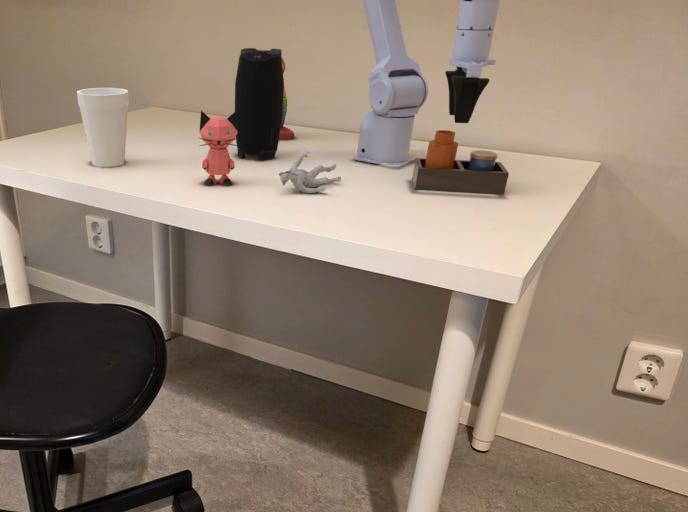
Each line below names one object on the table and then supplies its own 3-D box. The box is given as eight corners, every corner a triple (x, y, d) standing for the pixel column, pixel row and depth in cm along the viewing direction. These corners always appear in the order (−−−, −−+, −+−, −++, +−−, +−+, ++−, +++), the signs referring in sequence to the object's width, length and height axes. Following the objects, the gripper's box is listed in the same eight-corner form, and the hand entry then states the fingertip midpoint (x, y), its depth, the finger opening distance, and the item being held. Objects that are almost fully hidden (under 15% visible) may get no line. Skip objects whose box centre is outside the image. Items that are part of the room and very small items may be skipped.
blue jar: (459, 187, 108) (466, 153, 105) (469, 182, 111) (476, 149, 108) (484, 192, 106) (492, 157, 103) (493, 186, 108) (501, 153, 105)
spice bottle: (417, 183, 109) (426, 132, 105) (429, 178, 112) (438, 128, 108) (443, 188, 106) (453, 136, 102) (454, 183, 109) (464, 131, 105)
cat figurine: (197, 187, 110) (197, 114, 103) (198, 177, 115) (197, 106, 109) (239, 187, 110) (240, 114, 103) (237, 177, 115) (239, 107, 109)
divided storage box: (411, 181, 113) (415, 157, 111) (495, 186, 111) (500, 162, 109) (414, 193, 107) (418, 168, 105) (503, 198, 105) (509, 173, 103)
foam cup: (141, 160, 126) (137, 89, 119) (116, 171, 119) (110, 96, 112) (100, 155, 130) (94, 86, 123) (74, 165, 122) (66, 93, 116)
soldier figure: (348, 193, 110) (308, 184, 102) (326, 208, 113) (286, 200, 105) (332, 155, 112) (292, 142, 103) (311, 170, 115) (270, 159, 106)
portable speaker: (228, 152, 132) (230, 48, 122) (271, 150, 134) (277, 47, 124) (240, 162, 125) (243, 51, 115) (286, 159, 127) (292, 50, 117)
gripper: (510, 32, 95) (490, 127, 102) (493, 27, 108) (476, 112, 114) (460, 31, 97) (444, 125, 103) (449, 26, 109) (435, 111, 116)
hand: (458, 118), depth 109 cm, fingers open, 7 cm apart
